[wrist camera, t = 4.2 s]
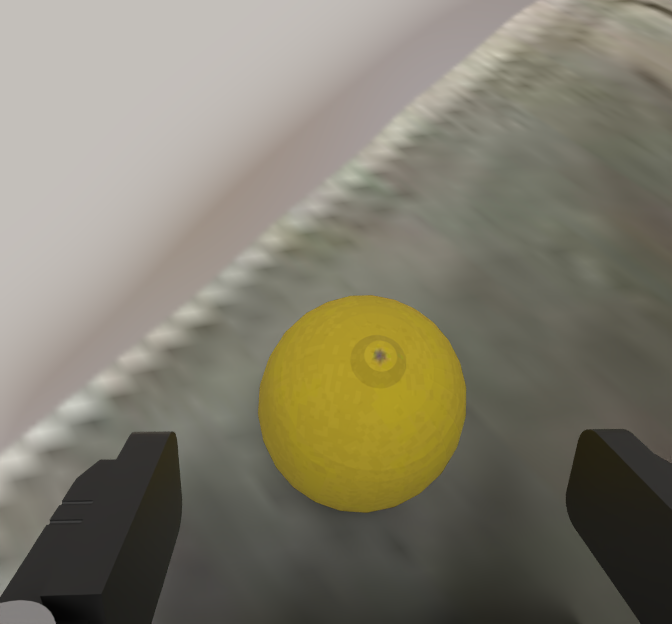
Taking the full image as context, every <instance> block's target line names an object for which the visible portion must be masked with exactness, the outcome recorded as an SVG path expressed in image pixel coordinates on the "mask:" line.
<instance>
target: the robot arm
mask: <svg viewBox="0 0 672 624" xmlns="http://www.w3.org/2000/svg"><path fill="white" fill-rule="evenodd" d="M566 507H567V512H568V515H569V518H570V520H571V523H572V524H573V526H574V528H575V529H576V531H577V532H578V533H579V535H580V536H581V538H582V539H583V541H584V542H585V544H586V545H587V546H588V548H589V549H590V551H591V552H592V554H593V555H594V557H595V558H596V559H597V561H598V562H599V564H600V565H601V567H602V568H603V570H604V571H605V572H606V574H607V575H608V577H609V578H610V580H611V581H612V583H613V584H614V586H615V587H616V588H617V590H618V591H619V593H620V594H621V596H622V597H623V599H624V600H625V601H626V603H627V604H628V606H629V607H630V609H631V610H632V612H633V613H634V614H635V616H636V617H637V619H638V620H639V622H640V623H641V624H672V464H671V463H669V462H668V461H666V460H664V459H662V458H661V457H659V456H657V455H655V454H654V453H653V452H652V451H651V450H649V449H648V448H647V447H646V446H645V445H644V444H643V443H642V442H641V441H640V440H638V439H637V438H636V437H635V436H634V435H633V434H632V433H631V432H629V431H627V430H624V429H589V430H585V431H583V432H582V433H581V435H580V437H579V440H578V444H577V448H576V452H575V457H574V461H573V465H572V470H571V474H570V478H569V483H568V487H567V491H566ZM181 514H182V493H181V481H180V469H179V457H178V445H177V438H176V434H175V433H174V432H133V433H131V435H130V436H129V438H128V440H127V441H126V443H125V445H124V447H123V448H122V450H121V452H120V454H119V456H118V457H117V459H116V460H99V461H98V462H97V463H96V464H94V465H93V466H92V467H90V468H89V469H88V470H87V471H85V472H84V473H83V474H82V475H80V476H79V477H78V478H77V479H76V480H75V482H74V483H73V485H72V486H71V488H70V489H69V491H68V493H67V494H66V496H65V497H64V499H63V500H62V505H59V507H58V508H57V510H56V511H55V513H54V514H53V516H52V517H51V519H50V524H49V525H46V527H45V528H44V530H43V531H42V533H41V535H40V536H39V538H38V539H37V541H36V542H35V544H34V545H33V547H32V549H31V550H30V552H29V553H28V555H27V556H26V558H25V560H24V561H23V563H22V564H21V566H20V567H19V569H18V570H17V572H16V574H15V575H14V577H13V578H12V580H11V581H10V583H9V584H8V586H7V588H6V589H5V591H4V592H3V594H2V595H1V597H0V624H151V622H152V619H153V616H154V612H155V609H156V606H157V602H158V599H159V596H160V592H161V589H162V586H163V582H164V579H165V576H166V573H167V569H168V566H169V563H170V559H171V556H172V553H173V549H174V546H175V543H176V539H177V536H178V532H179V528H180V522H181Z"/></svg>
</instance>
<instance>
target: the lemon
mask: <svg viewBox="0 0 672 624" xmlns="http://www.w3.org/2000/svg"><path fill="white" fill-rule="evenodd" d="M258 416H259V421H260V426H261V431H262V436H263V441H264V443H265V445H266V448H267V450H268V452H269V454H270V456H271V458H272V460H273V462H274V464H275V466H276V468H277V469H278V470H279V471H280V472H281V473H282V475H283V476H284V477H285V478H286V479H287V480H288V482H289V483H290V484H291V485H292V486H293V487H294V488H295V489H297V490H298V491H300V492H301V493H303V494H304V495H306V496H307V497H309V498H310V499H312V500H313V501H314V502H317V503H319V504H322V505H325V506H328V507H331V508H334V509H337V510H340V511H350V512H364V513H368V512H373V511H377V510H382V509H387V508H391V507H395V506H397V505H399V504H401V503H403V502H405V501H407V500H409V499H411V498H412V497H414V496H416V495H418V494H420V493H421V492H422V491H423V490H424V489H425V488H426V487H427V486H428V485H430V484H431V483H432V482H433V481H434V480H435V479H436V478H437V477H438V476H439V475H440V474H441V473H442V472H443V470H444V468H445V467H446V465H447V463H448V462H449V460H450V458H451V456H452V455H453V453H454V451H455V450H456V448H457V446H458V442H459V439H460V435H461V432H462V428H463V424H464V421H465V416H466V385H465V381H464V377H463V373H462V369H461V365H460V362H459V360H458V358H457V356H456V354H455V352H454V350H453V348H452V346H451V344H450V342H449V341H448V339H447V338H446V337H445V336H444V334H443V333H442V332H441V331H440V330H439V329H438V327H437V326H436V325H435V324H434V323H433V322H432V321H431V320H429V319H428V318H427V317H425V316H424V315H423V314H421V313H420V312H418V311H417V310H416V309H414V308H412V307H410V306H407V305H405V304H403V303H400V302H398V301H396V300H393V299H388V298H383V297H378V296H373V295H368V296H348V297H344V298H341V299H337V300H333V301H330V302H327V303H325V304H323V305H321V306H319V307H317V308H315V309H314V310H312V311H310V312H308V313H306V314H305V315H304V316H303V317H302V318H300V319H299V320H298V321H297V322H296V323H295V324H294V325H293V326H292V327H291V328H289V329H288V330H287V331H286V332H285V334H284V335H283V337H282V338H281V340H280V341H279V343H278V344H277V346H276V348H275V349H274V351H273V352H272V354H271V355H270V357H269V360H268V363H267V366H266V369H265V372H264V375H263V378H262V381H261V384H260V392H259V408H258Z"/></svg>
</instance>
